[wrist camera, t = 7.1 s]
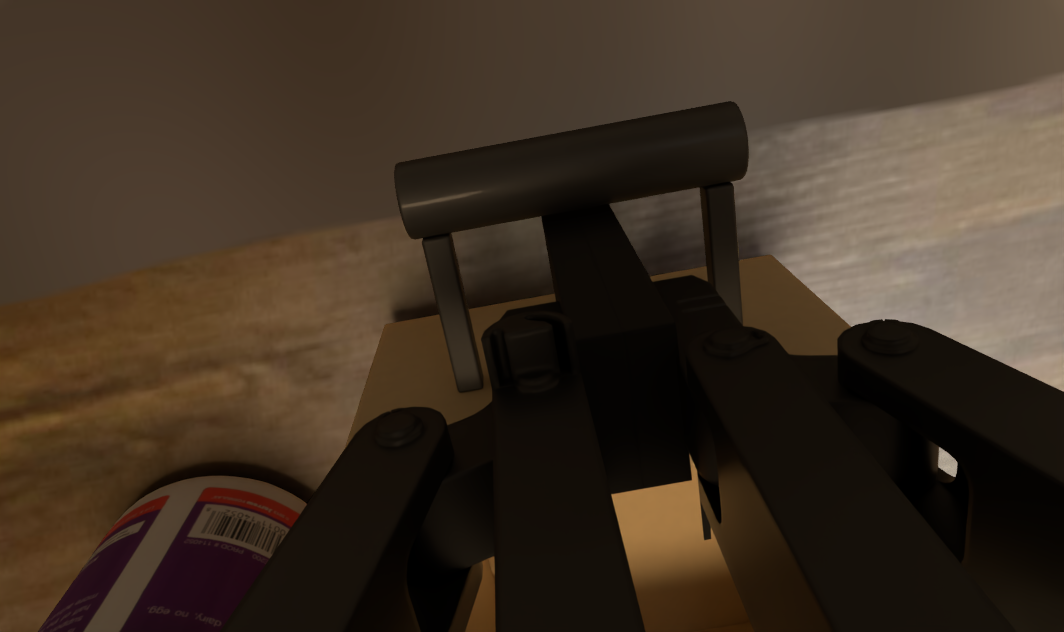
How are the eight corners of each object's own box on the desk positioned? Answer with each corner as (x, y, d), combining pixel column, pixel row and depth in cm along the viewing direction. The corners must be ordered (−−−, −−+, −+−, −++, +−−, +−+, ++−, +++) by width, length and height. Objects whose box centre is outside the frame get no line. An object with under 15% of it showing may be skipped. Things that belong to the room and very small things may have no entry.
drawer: (334, 141, 20) (245, 223, 13) (762, 62, 20) (920, 98, 12) (476, 659, 27) (471, 897, 20) (788, 606, 27) (898, 827, 20)
